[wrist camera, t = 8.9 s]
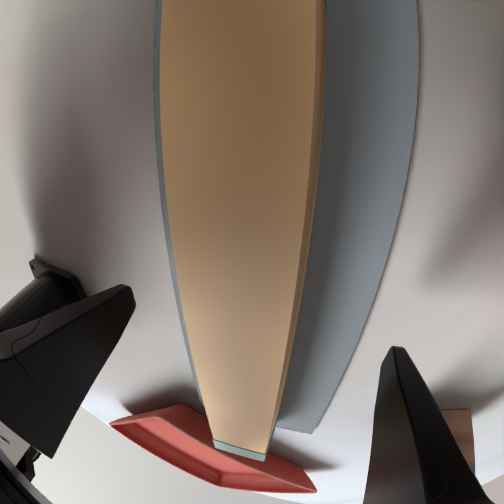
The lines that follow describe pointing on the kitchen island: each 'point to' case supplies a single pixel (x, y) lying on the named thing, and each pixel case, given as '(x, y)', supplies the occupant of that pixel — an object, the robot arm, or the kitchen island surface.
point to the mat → (342, 191)
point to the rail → (241, 194)
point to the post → (462, 432)
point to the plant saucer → (208, 452)
